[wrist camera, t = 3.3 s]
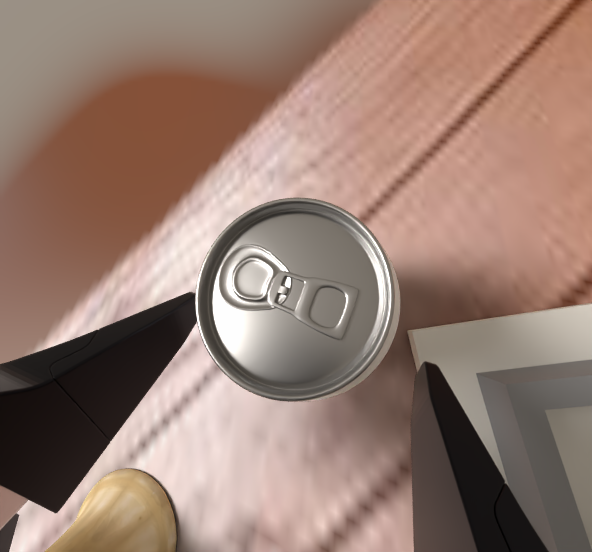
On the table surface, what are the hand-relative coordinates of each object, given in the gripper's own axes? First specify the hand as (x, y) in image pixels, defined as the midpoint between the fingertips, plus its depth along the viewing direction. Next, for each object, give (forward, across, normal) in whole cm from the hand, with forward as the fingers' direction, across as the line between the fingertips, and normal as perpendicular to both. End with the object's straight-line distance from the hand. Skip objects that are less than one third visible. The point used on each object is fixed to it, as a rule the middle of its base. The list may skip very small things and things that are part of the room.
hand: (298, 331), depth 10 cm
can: (+7, 0, +6) cm, 9 cm away
